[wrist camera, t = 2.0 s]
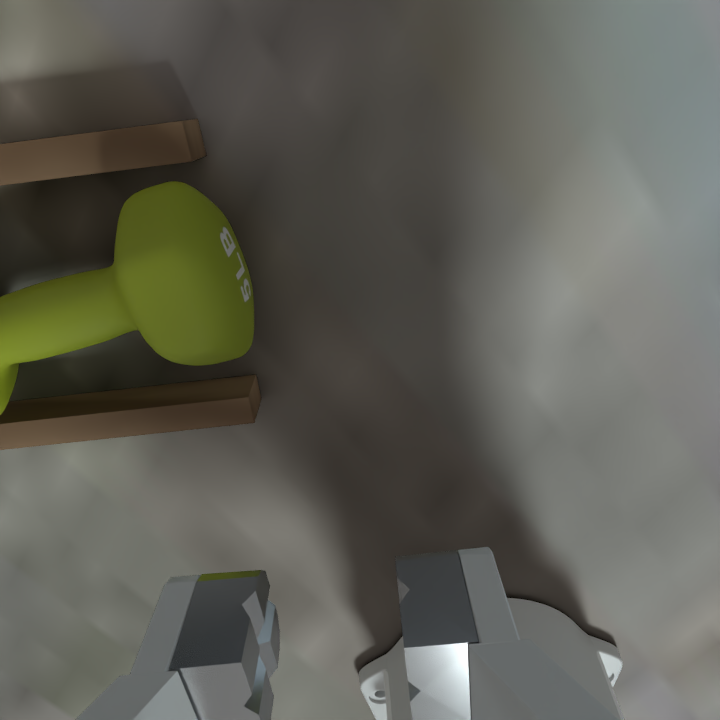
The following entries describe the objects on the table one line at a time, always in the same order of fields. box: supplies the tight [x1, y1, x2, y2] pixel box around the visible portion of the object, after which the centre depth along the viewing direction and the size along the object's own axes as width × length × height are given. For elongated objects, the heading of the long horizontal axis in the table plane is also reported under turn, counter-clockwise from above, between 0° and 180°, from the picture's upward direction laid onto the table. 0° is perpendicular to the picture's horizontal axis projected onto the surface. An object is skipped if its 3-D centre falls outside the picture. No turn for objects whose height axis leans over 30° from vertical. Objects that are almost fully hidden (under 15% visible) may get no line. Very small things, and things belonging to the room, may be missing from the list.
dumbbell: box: [0, 181, 254, 415], centre depth 23 cm, size 16×8×7 cm, turn 105°
